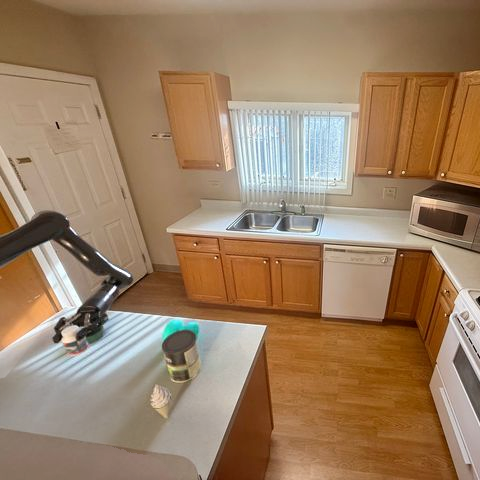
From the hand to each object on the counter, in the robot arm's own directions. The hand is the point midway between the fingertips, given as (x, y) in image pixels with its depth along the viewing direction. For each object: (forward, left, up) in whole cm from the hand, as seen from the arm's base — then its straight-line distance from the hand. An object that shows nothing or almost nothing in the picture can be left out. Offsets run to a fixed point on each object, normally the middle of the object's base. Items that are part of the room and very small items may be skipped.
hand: (66, 339), depth 79 cm
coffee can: (+32, -8, -17) cm, 37 cm away
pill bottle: (0, +3, -7) cm, 8 cm away
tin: (-4, +21, -17) cm, 28 cm away
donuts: (+30, +6, -17) cm, 35 cm away
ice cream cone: (+28, -24, -17) cm, 40 cm away
